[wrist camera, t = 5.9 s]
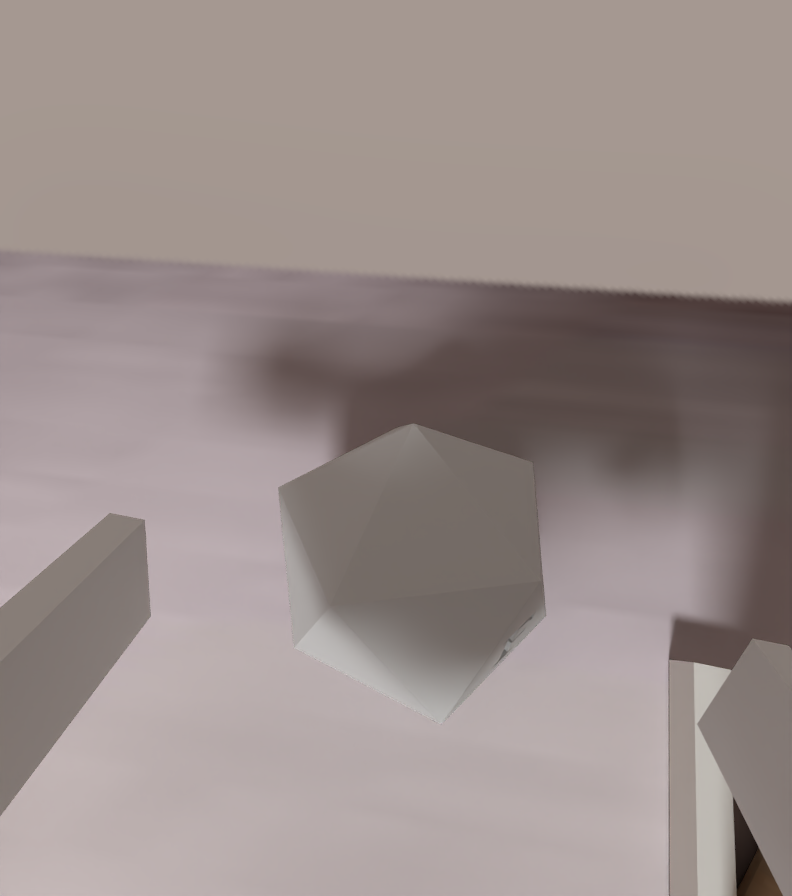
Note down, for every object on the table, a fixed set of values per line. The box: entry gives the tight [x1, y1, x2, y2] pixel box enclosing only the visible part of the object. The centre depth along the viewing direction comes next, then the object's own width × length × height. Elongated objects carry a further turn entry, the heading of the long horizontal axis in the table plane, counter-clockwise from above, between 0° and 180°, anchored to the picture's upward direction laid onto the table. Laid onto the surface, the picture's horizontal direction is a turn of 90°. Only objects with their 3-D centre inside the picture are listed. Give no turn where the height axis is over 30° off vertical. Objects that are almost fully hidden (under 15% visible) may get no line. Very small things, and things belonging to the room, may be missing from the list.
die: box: [278, 423, 546, 725], centre depth 16 cm, size 8×9×10 cm
